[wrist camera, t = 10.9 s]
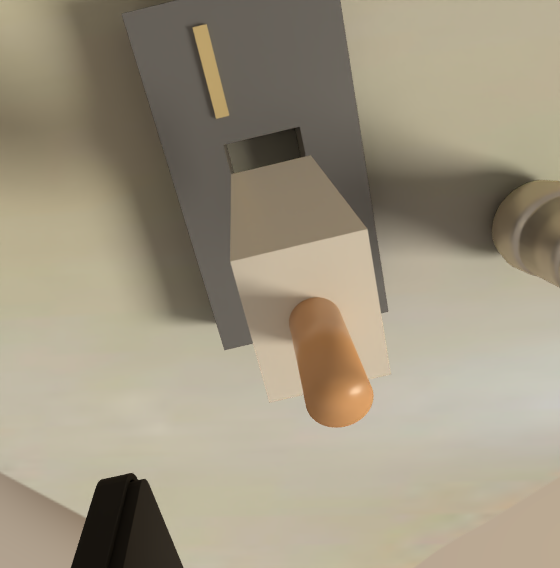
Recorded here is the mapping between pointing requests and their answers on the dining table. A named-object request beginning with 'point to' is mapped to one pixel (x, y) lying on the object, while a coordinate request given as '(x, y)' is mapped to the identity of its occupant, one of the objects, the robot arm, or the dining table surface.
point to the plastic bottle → (531, 229)
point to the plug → (307, 289)
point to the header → (247, 114)
